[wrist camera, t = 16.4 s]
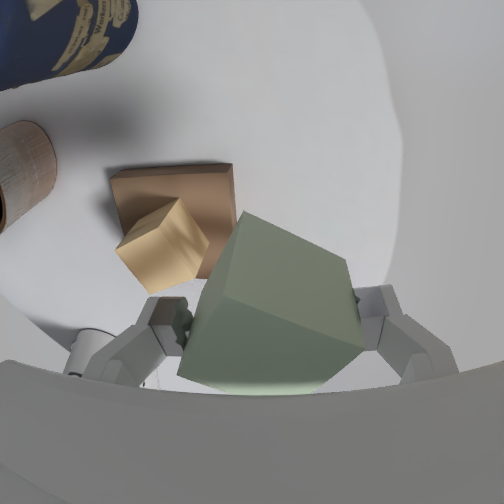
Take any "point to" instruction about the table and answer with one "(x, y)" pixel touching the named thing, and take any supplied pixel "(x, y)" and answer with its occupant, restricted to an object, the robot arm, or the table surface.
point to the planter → (24, 170)
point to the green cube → (272, 316)
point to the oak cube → (164, 247)
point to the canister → (61, 37)
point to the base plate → (191, 194)
